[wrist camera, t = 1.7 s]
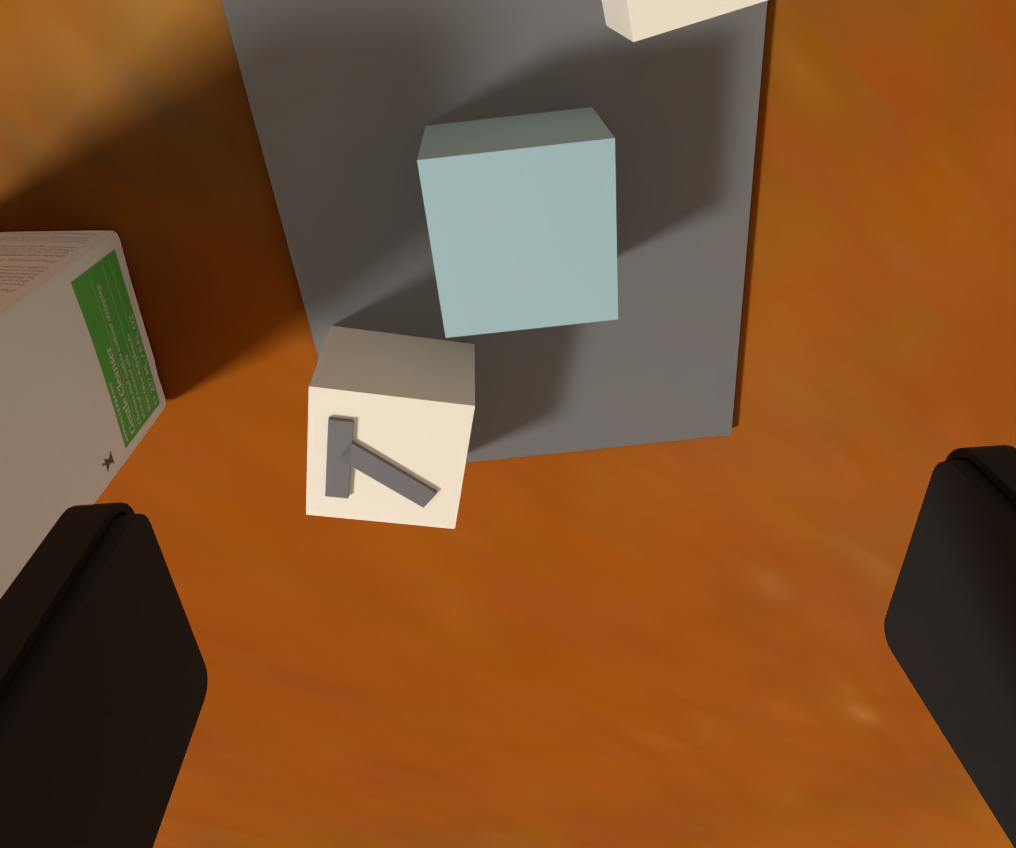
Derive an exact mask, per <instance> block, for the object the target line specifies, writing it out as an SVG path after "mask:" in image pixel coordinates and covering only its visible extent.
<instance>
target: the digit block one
mask: <svg viewBox="0 0 1016 848" xmlns="http://www.w3.org/2000/svg"><path fill="white" fill-rule="evenodd" d="M764 1H767V0H602V5H603V10H604V16H605V21H606V26H608V27H609V28H611V29H613V30H614V31H616V32H618V33H619V34H621V35H623V36H624V37H626V38H627V39H629V40H631V41H632V42H636V41H639V40H642V39H645V38H649V37H652V36H655V35H658V34H661V33H665V32H668V31H671V30H674V29H677V28H681V27H684V26H687V25H690V24H694V23H697V22H700V21H703V20H706V19H710V18H713V17H716V16H719V15H722V14H726V13H729V12H732V11H735V10H738V9H742V8H745V7H748V6H751V5H754V4H758V3H761V2H764Z"/></svg>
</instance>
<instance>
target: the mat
mask: <svg viewBox="0 0 1016 848" xmlns="http://www.w3.org/2000/svg"><path fill="white" fill-rule="evenodd" d="M221 1H222V5H223V9H224V12H225V16H226V20H227V23H228V27H229V31H230V34H231V38H232V42H233V45H234V49H235V53H236V56H237V60H238V64H239V68H240V71H241V75H242V79H243V82H244V86H245V90H246V93H247V97H248V101H249V104H250V108H251V112H252V115H253V119H254V123H255V127H256V130H257V134H258V138H259V141H260V145H261V149H262V152H263V156H264V160H265V163H266V167H267V171H268V174H269V178H270V182H271V185H272V189H273V193H274V197H275V200H276V204H277V208H278V211H279V215H280V219H281V222H282V226H283V230H284V233H285V237H286V241H287V244H288V248H289V252H290V256H291V259H292V263H293V267H294V270H295V274H296V278H297V281H298V285H299V289H300V292H301V296H302V300H303V303H304V307H305V311H306V314H307V318H308V322H309V326H310V329H311V333H312V337H313V340H314V344H315V348H316V351H317V355H318V359H319V357H320V355H321V352H322V349H323V346H324V344H325V341H326V338H327V335H328V333H329V330H330V327H331V326H338V327H346V328H354V329H361V330H369V331H377V332H385V333H393V334H400V335H408V336H416V337H424V338H431V339H439V340H447V341H455V342H462V343H470V344H475V409H474V415H473V422H472V428H471V434H470V440H469V446H468V452H467V458H466V462H475V461H485V460H495V459H504V458H514V457H523V456H533V455H543V454H552V453H562V452H571V451H581V450H591V449H600V448H610V447H619V446H629V445H638V444H648V443H658V442H667V441H677V440H686V439H696V438H706V437H715V436H725V435H731V433H732V421H733V409H734V397H735V385H736V373H737V360H738V348H739V336H740V324H741V312H742V300H743V288H744V276H745V264H746V252H747V240H748V228H749V216H750V204H751V192H752V180H753V168H754V156H755V144H756V132H757V120H758V108H759V96H760V84H761V72H762V60H763V48H764V36H765V24H766V12H767V1H764V2H761V3H758V4H754V5H751V6H748V7H745V8H742V9H738V10H735V11H732V12H729V13H726V14H722V15H719V16H716V17H713V18H710V19H706V20H703V21H700V22H697V23H694V24H690V25H687V26H684V27H681V28H677V29H674V30H671V31H668V32H665V33H661V34H658V35H655V36H652V37H649V38H645V39H642V40H639V41H636V42H632V41H631V40H629V39H627V38H626V37H624V36H623V35H621V34H619V33H618V32H616V31H614V30H613V29H611V28H609V27H608V26H606V21H605V16H604V10H603V5H602V0H221ZM587 107H593V109H594V110H595V111H596V113H597V114H598V116H599V117H600V118H601V120H602V121H603V122H604V124H605V125H606V126H607V128H608V129H609V131H610V132H611V133H612V135H613V136H614V137H615V165H616V223H617V281H618V319H617V320H608V321H599V322H589V323H580V324H571V325H561V326H552V327H543V328H533V329H524V330H515V331H506V332H496V333H487V334H478V335H468V336H459V337H450V338H446V337H445V331H444V325H443V319H442V312H441V306H440V300H439V294H438V288H437V281H436V275H435V269H434V263H433V256H432V250H431V244H430V238H429V232H428V225H427V219H426V213H425V207H424V201H423V194H422V188H421V182H420V176H419V170H418V163H417V158H418V154H419V150H420V146H421V142H422V138H423V134H424V130H425V126H428V125H437V124H446V123H455V122H464V121H472V120H481V119H490V118H499V117H508V116H517V115H525V114H534V113H543V112H552V111H561V110H570V109H579V108H587Z"/></svg>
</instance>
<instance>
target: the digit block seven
mask: <svg viewBox="0 0 1016 848" xmlns="http://www.w3.org/2000/svg"><path fill="white" fill-rule="evenodd" d="M474 409H475V344H470V343H462V342H455V341H447V340H439V339H431V338H424V337H416V336H408V335H400V334H393V333H385V332H377V331H369V330H361V329H354V328H346V327H338V326H331V327H330V330H329V333H328V335H327V338H326V341H325V344H324V346H323V349H322V352H321V355H320V357H319V360H318V363H317V366H316V368H315V371H314V374H313V376H312V379H311V382H310V385H309V404H308V450H307V495H306V514H307V515H317V516H327V517H338V518H348V519H358V520H369V521H379V522H389V523H400V524H410V525H420V526H430V527H441V528H451V529H455V524H456V518H457V512H458V506H459V500H460V494H461V488H462V482H463V476H464V470H465V464H466V458H467V452H468V446H469V440H470V434H471V428H472V422H473V415H474Z"/></svg>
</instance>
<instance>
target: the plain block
mask: <svg viewBox="0 0 1016 848" xmlns="http://www.w3.org/2000/svg"><path fill="white" fill-rule="evenodd" d="M417 163H418V170H419V176H420V182H421V188H422V194H423V201H424V207H425V213H426V219H427V225H428V232H429V238H430V244H431V250H432V256H433V263H434V269H435V275H436V281H437V288H438V294H439V300H440V306H441V312H442V319H443V325H444V331H445V337H446V338H450V337H459V336H468V335H478V334H487V333H496V332H506V331H515V330H524V329H533V328H543V327H552V326H561V325H571V324H580V323H589V322H599V321H608V320H617V319H618V281H617V223H616V165H615V137H614V136H613V135H612V133H611V132H610V131H609V129H608V128H607V126H606V125H605V124H604V122H603V121H602V120H601V118H600V117H599V116H598V114H597V113H596V111H595V110H594V109H593V107H587V108H579V109H570V110H561V111H552V112H543V113H534V114H525V115H517V116H508V117H499V118H490V119H481V120H472V121H464V122H455V123H446V124H437V125H428V126H425V130H424V134H423V138H422V142H421V146H420V150H419V154H418V158H417Z"/></svg>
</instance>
